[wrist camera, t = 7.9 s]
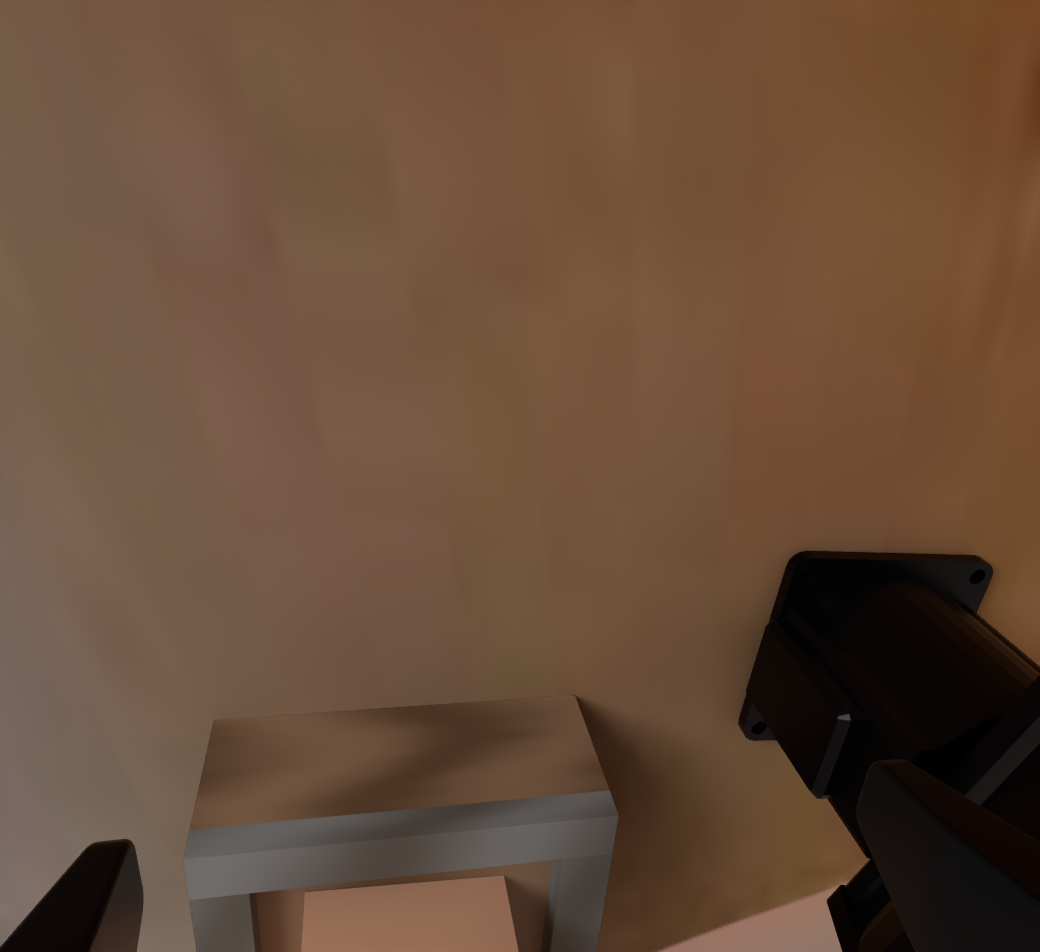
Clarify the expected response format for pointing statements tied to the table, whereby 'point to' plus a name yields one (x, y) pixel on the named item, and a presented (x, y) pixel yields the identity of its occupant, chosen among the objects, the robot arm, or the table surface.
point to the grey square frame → (401, 817)
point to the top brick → (411, 918)
